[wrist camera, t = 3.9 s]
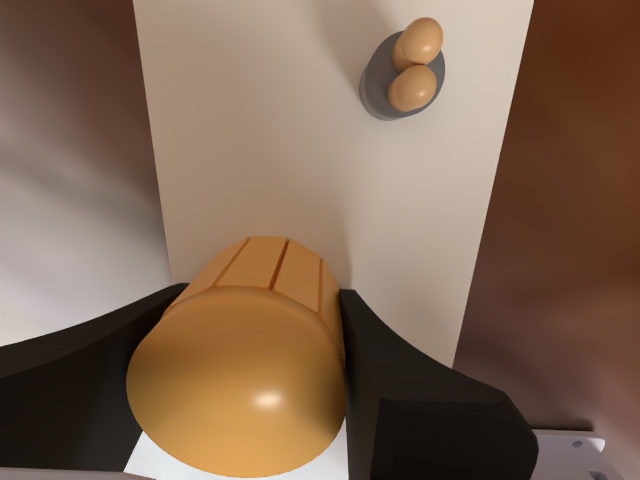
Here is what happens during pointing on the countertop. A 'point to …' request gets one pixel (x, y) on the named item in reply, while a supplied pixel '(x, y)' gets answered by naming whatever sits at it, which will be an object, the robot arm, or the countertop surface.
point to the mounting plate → (336, 139)
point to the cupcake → (246, 363)
